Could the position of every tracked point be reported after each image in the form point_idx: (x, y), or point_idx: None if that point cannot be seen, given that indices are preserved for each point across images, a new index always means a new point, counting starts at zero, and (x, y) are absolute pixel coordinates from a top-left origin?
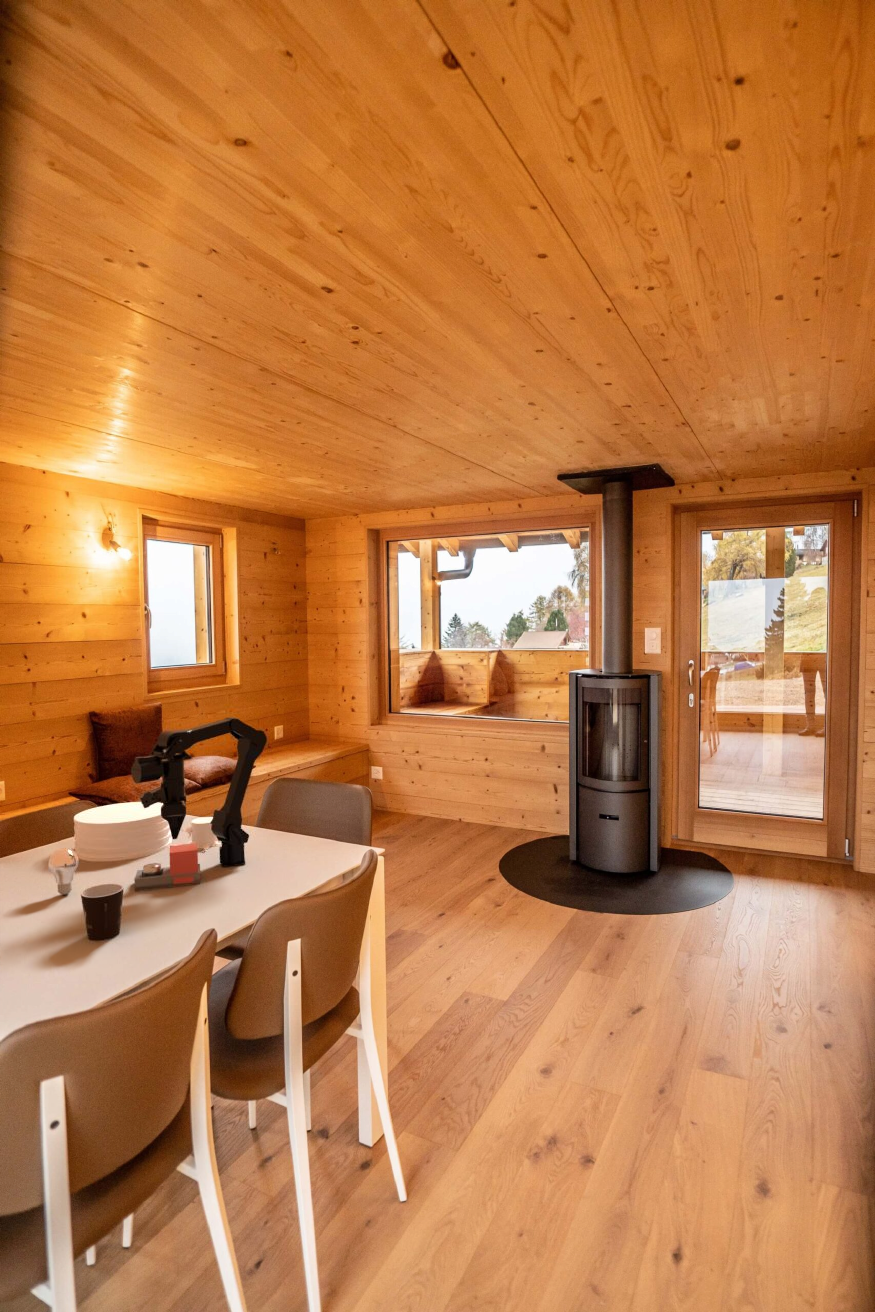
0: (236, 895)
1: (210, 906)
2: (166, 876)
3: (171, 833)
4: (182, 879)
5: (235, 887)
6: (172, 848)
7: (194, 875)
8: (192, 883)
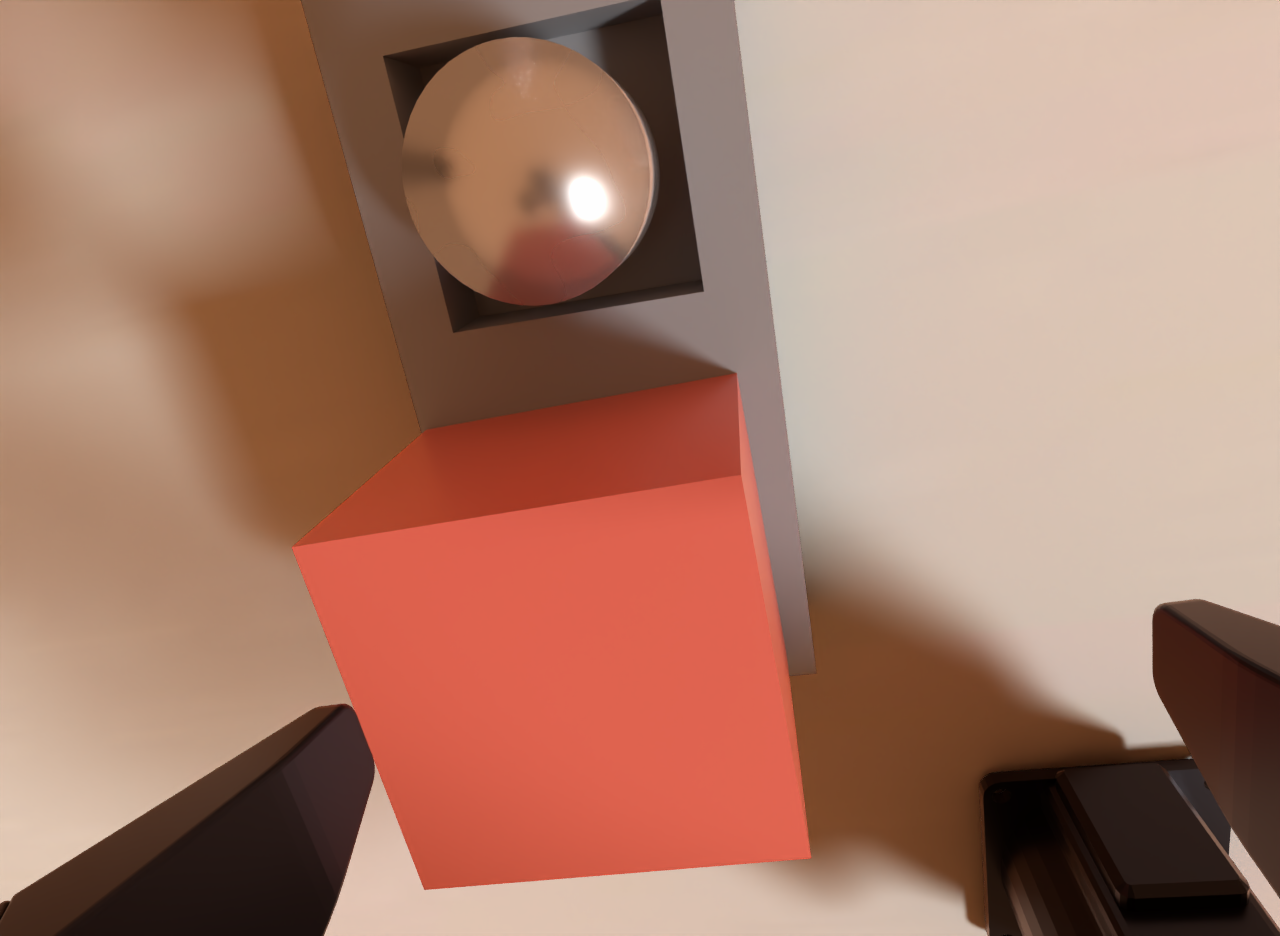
0: None
1: (24, 761)
2: (412, 390)
3: (182, 797)
4: None
5: (408, 885)
6: (557, 548)
7: None
8: None
